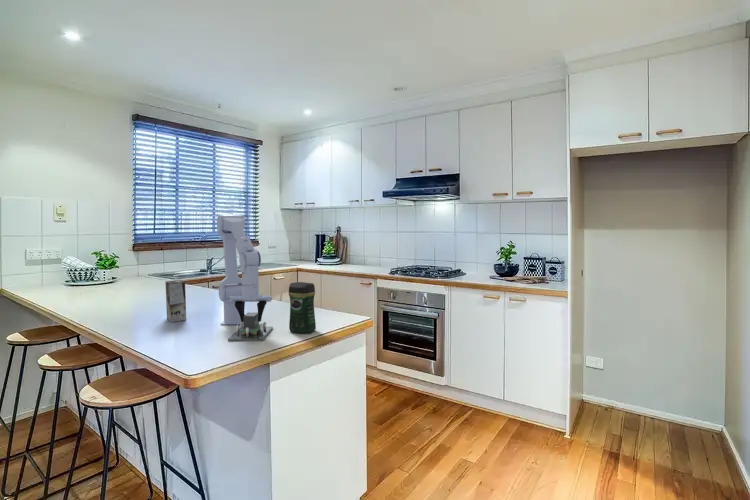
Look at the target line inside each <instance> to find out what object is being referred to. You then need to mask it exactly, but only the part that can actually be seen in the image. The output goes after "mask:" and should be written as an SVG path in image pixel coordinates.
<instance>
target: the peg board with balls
mask: <svg viewBox="0 0 750 500" xmlns="http://www.w3.org/2000/svg"><path fill="white" fill-rule="evenodd" d="M262 323H263V325H260V329H259V331H258V332H254V333H249V327H246V333H240V329H241V328H242V327H243V326H244V325H243V322H240V324H237V325H236V327H235V329H236V330H235V332H234V333H233V334H231V336H229V337H228V338H227V341H228V342H261V341H262V342H263V341H265V339H266V338H267V337H268V336H269V334H270V333H271V331H272V330H273V328H274V326H267V321H263V322H262Z"/></svg>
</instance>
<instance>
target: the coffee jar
mask: <svg viewBox="0 0 750 500" xmlns="http://www.w3.org/2000/svg"><path fill="white" fill-rule="evenodd" d="M315 295H316V288H315V284H314V283H312V282H303V281H297V282H291V283H289V287H288V296H289V303H290V304H289V305H290V306H289V307H290V308H289V322H288V323H289V324H288V325H289V328H288V330H289V331H290V332H292V333H295V334H296V333H297V334H307V333H309V334H311V333H313V332H315V331H316V328H317V325H316V317H315V316H316V315H315V305H314V303H315V301H314V300H315Z"/></svg>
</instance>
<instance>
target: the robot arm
mask: <svg viewBox="0 0 750 500" xmlns="http://www.w3.org/2000/svg"><path fill="white" fill-rule="evenodd" d="M245 228H246V217H245V216H244V215H243V214H221V213H220V214H218V216H217V217H216V229H217V230H216V231H217V235H218V237H221V239H222V243H223V244H222V245H223V257H224V258H223V259H224V269H225V270H224V271H225V277H224V278H223V279H222V280H220V282H219V284H218V298H219V300H220V301H221V302H223V321H222V322H221V323H220V325H221V326H222V325H231V326H234V325H236V326H237V325H240V322H243V316H244V315H246V314H245V308H246V302H247V303H248V302H249V303H251V302H252V303H253V302H256V303H257V304H256V306H257V312H258V322H259V323H260V322H261V321H262V317H263V313H264V310H265V307H266V305H267V303H271V302H272V295H260V285H259V284H260V283H259V280H260V279H259V267H261V264H262V263H261V262H262V257H261V253H260V251H259V250H257V249H255V248H254V245H253V243H252V241H251V239H250V238H249V237H247V236H246V232H245ZM237 253H238V255H239V257H237ZM238 260H239V261H238ZM238 262H239V266H240V272H241V277H239V271H238Z"/></svg>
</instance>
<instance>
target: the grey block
mask: <svg viewBox="0 0 750 500" xmlns="http://www.w3.org/2000/svg"><path fill="white" fill-rule="evenodd" d="M260 325H263V322H262V323H260V322H258V311H257V312H246V314H245V315H244V316H243V327H242V328H241V329H240V333H246V327H249V333H254V332H258V331H259V329H260Z"/></svg>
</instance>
